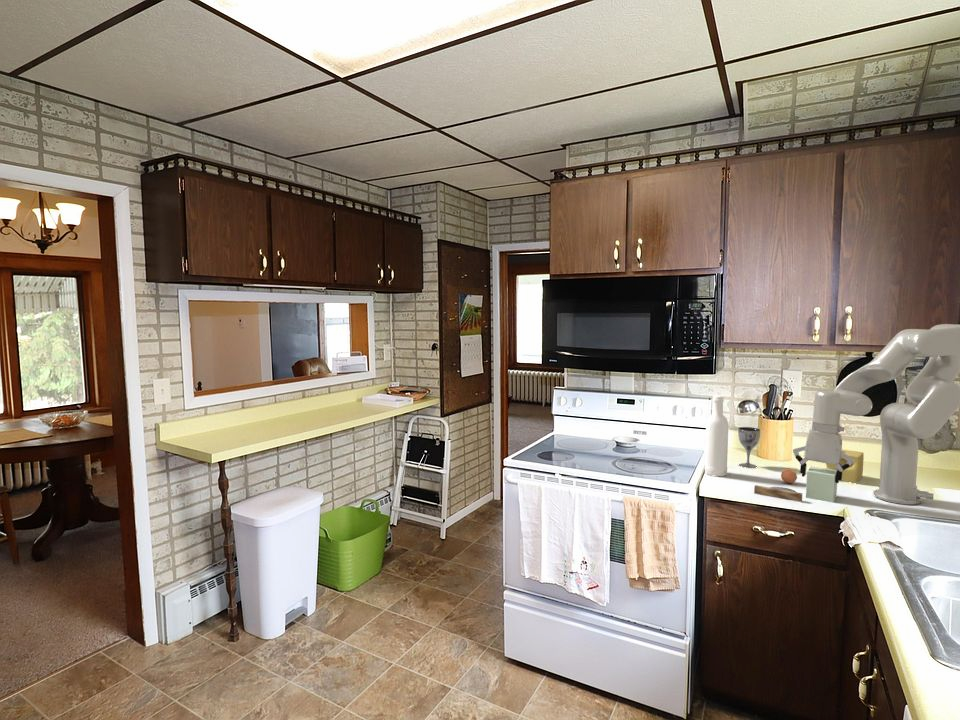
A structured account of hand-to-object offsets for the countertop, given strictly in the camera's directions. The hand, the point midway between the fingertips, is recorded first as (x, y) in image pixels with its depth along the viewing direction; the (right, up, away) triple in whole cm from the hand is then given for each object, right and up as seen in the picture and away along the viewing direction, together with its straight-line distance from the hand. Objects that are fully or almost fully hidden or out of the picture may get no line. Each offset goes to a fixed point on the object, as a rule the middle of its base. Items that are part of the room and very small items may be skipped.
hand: (820, 478), depth 183 cm
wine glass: (-6, -3, +38) cm, 38 cm away
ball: (-2, -2, +15) cm, 16 cm away
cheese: (+22, -5, +21) cm, 31 cm away
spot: (-9, -6, +6) cm, 13 cm away
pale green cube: (+1, -6, +1) cm, 6 cm away
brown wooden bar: (-14, -6, +1) cm, 15 cm away
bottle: (-23, -4, +28) cm, 36 cm away
